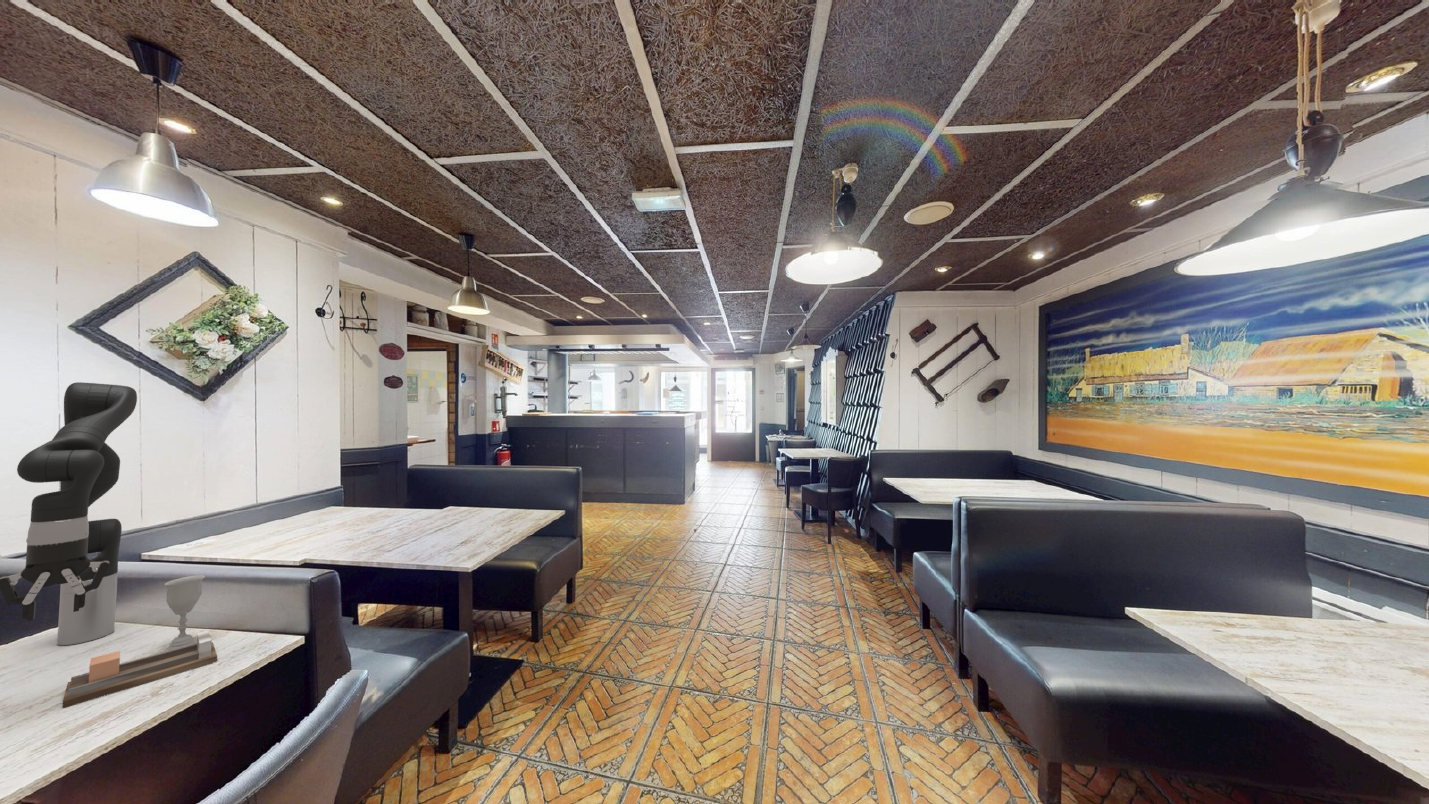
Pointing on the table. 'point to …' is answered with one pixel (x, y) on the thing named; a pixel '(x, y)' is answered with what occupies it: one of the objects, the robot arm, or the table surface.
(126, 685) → the rail board
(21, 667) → the table surface
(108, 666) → the orange-brown block
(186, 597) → the chalice
